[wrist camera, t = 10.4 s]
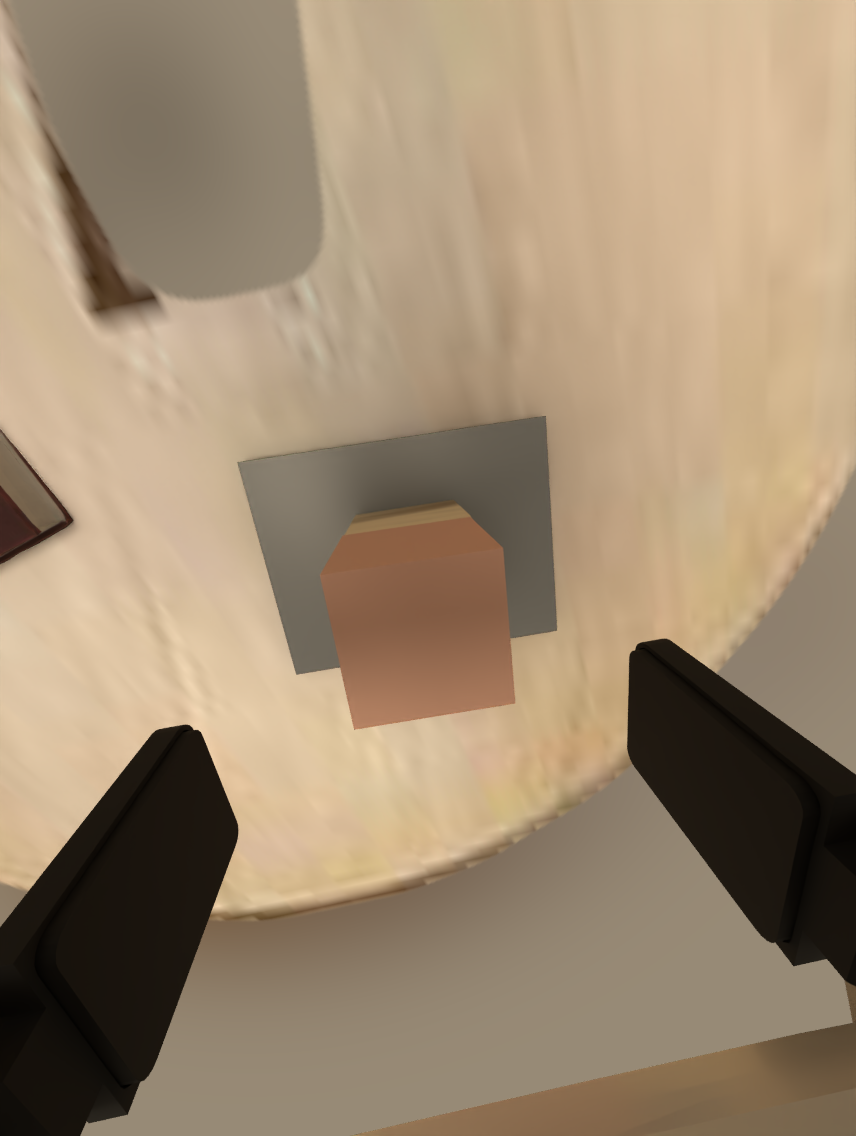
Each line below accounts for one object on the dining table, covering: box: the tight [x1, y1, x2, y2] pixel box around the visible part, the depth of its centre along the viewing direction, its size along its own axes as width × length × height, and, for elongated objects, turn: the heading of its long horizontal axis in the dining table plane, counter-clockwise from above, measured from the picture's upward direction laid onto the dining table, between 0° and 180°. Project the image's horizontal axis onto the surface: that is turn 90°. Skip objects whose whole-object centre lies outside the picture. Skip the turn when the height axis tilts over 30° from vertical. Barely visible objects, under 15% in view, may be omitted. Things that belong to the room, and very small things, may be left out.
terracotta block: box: [320, 517, 515, 730], centre depth 17 cm, size 6×6×6 cm
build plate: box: [238, 416, 557, 675], centre depth 26 cm, size 14×18×1 cm
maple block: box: [345, 500, 471, 535], centre depth 23 cm, size 6×6×6 cm
